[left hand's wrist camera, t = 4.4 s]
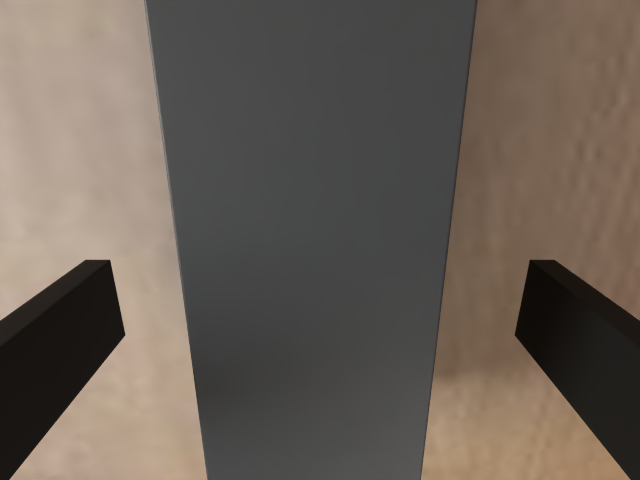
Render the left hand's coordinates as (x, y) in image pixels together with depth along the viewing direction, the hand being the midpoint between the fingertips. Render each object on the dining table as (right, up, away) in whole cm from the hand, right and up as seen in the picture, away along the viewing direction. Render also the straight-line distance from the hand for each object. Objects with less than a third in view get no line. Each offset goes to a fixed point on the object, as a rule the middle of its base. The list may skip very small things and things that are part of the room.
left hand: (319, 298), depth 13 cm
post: (0, +19, -3) cm, 19 cm away
